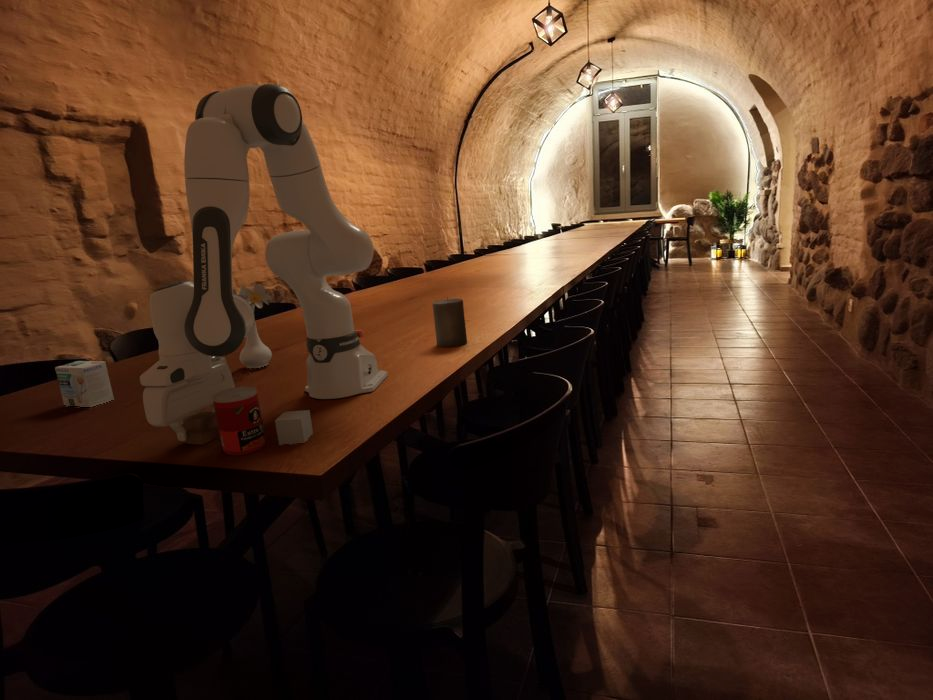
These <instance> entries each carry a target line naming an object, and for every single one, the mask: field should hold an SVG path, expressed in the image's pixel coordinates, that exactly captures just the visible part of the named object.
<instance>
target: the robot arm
mask: <svg viewBox="0 0 933 700" xmlns="http://www.w3.org/2000/svg"><path fill="white" fill-rule="evenodd" d="M194 117H195V119H194V121H192V122H191V123H190V124H189V126H188V128H187V131H186V137H185V145H184V168H183V169H184V184H185V194H186V201H187V208H188V214H189V219H190V220H189V221H190V229H191V236H192V267H193V268H192V269H193V270H192V271H193V281H190V280H181V281H176V282H172V283H169V284H167V285H162V286H159V287H157V288H156V289H154V290H153V291H152V292H151V294H150V296H149V311H150V312H149V313H150V318H151V319H150V320H151V323H152V324H151V325H152V329H153V333H154V335H155V338H156V339H157V341H158V358H159V360H157V361H156V362H155V363H154V364H153V365H152V366H150V368H148V369H147V370H146V371H144V372H143V373H141V375H140V376H139V382H140V385H141V386H143V387H145V388H144V390H143V392H142V402H143V407H144V412H145V413H144V414H145V417H146V420H147V423H149V425H151V426H152V427H161V428H163V427H165V428H166V427H168V426H169V427H170V428H171V429H172V430H173V431H174V432H175V433H176V436H177V440H178V441H180V442H182V441H185V440H187V439H189V438H190V437H191V436H190V432H189V430H185V429H184V428H183V427H182V425H181V424H183V418H185V417H187V416H189V415H191V414H194V413H196V412H201V411H202V410H204V409H206V408H208V407H210V408H211V411H210V412H215V408H214V403H213V395H215V394H216V393H218V392H221V391H223V390H227V389H231V388H236V386H235V382H234V378H233V375H232V372H231V370H230V367H229V366H228V362H227V359H226V358H225V357H224V356H228V355H231V354H232V353H234V352H235V351H236V350H238V349H239V348H240V346H241V345H242V344H243V341H244V339H245V338H246V335H247V334H248V333H249V331H250V330H251V328H252V326H253V324H254V318H255V310H254V311H253V309H252V307H251V305H250V304H249V303H248V301H246V300H245V299H244V298H242V297H240V296H238V295H234V294H233V289H234V287H233V248H234V243H235V240H236V237H237V236H238V233H240V232H239V231H240V230H241V228H242V227H243V225H244V224H245V223H246V220H247V219H248V213H249V208H250V195H251V191H250V173H249V166H248V165H249V163H248V158H247V157H248V153H249V151H250V149H253V148H254V149H256V148H259V149H260V150H261V152H262V153H263V155H264V156H263V157H264V160H265V165H266V169H267V172H268V175H269V178H270V181H271V186H272V189H273V191H274V194H275V197H276V201H277V203H278V204H277V205H278V206H279V208H280V210H281V211H282V212H283V213H284V214H285V215H287V216H289V217H291V218H294V219H295V220H297V221H299V222H301V223H302V224H303V226H305V227H306V228H307V229H303V230H293V231H292V230H291V231H287V232H284V233H280V234H278V235H275V236H273V237H270V239H269V240H268V242H267V244H266V245H265V250H264V256H265V259H264V260H265V262H266V265H267V267H268V269H269V270H270V271H271V272H272V273H273V275H274V276H276V277H278V278H280V279H281V280H282V281H284V282H285V284H286V285H288V287H290V289H291V290H292V292H293V293H294V294H295V296H296V298H297V300H298V302H299V304H300V307H301V310H302V314H303V318H304V324H305V330H306V335H307V336H306V338H305V341H306V344H305V345H306V349H307V353H309V355H308V356H307V358H306V374H307V376H306V379H307V385H306V386H305V387H304V391H305V392H307V393H308V394H309V397H311V398H312V399H313V398H314V399H318V400H334V399H342V398H348V397H352V396H355V395H358V394H359V395H360V394H364V393H365V394H366V393H370V392H374V391H376V389H377V388H378V386H379V385H380V384H381V383H383V381H384V380H385V379H386V378H387V377H388V375H389V374H388V371H386V370H383V369H378V361H377V359H376V358H377V357H376V356H375V354H373V353H372V352H370V351H369V350H367V348H365V347H364V346H362V345H361V342H360V338H361V339H362V338H364V330H363V329H355V327H354V326H355V325H354V319H353V311H352V305H351V301H350V300H349V299H348V297H346V296H345V295H344V294H343V293H341V292H340V291H336V290H334V289H333V288H332V287H331V286H330V285H329V284H328V281H327V280H326V278H325V277H333V276H334V277H336V276H348V275H352V274H355V273H359V272H362V271H366V270H367V269H368V268H369V267H370V265H371V264H372V261H373V258H374V253H375V248H374V244H373V241H372V239H371V237H370V235H369V234H368V233H367V231H365V230H364V229H363V228H360V227H359V226H357V225H355V224H354V223H352V222H351V221H350V220H349V219H347V218H346V216H344V214H343V213H342V212H341V211H340V209H339V208H338V207H337V206H336V204H335V202H334V200H333V199H332V197H331V195H330V192H329V189H328V185H327V183H326V182H327V181H326V180H325V176H324V173H323V168H322V166H321V162H320V159H319V155H318V152H317V149H316V146H315V144H314V142H313V138H312V137H311V134H310V132H309V130H308V127H307V125H306V124H305V122H304V121H303V113H302V109H301V106H300V104H299V101H298V100H297V99H296V97H295V96H294V94H293V93H292V92H291V91H290V90H289V89H288V88H287V87H284V86H281V85H278V84H273V83H265V84H262V85H261V84H260V85H259V84H249V85H246V84H245V85H239V86H237V87H236V86H235V87H232V88H228V89H225V90H215V91H212V92H210V93H208V94H206V95H204V96H203V97H201V99H200V100H199V101H198V103H197V106H196V110H195V115H194Z"/></svg>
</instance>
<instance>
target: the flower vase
mask: <svg viewBox="0 0 933 700" xmlns="http://www.w3.org/2000/svg"><path fill="white" fill-rule="evenodd" d="M233 294H234V295H238V296H240V297H242V298H244V299H245V300H246V301H248V303H249V304H250V305H251V307H252V309H253V311H254V312H255V307H257V308H258V309H262V308H263V307H264V304H263V303H265V304H266V305H270V304H269V301H273V297H271V295H270V294H269V293H266V287H265V286H264V285H261V284H260V283H258V284H257V283H253V289H252V290H251V289H250V288H248V287H247V286H246V285H241V287H240V290H239V292H237V290H236V288H233ZM245 338H246V339H245V344H244V346H243V348H242V350H241V351H240V354H239V361H240V362H241V363H242V364H243V365H245V366H246V369H248V368H250V369H249V370H252V369H251V368H259V369H262V368H261V367H263V368H265V367H264V366H266V367H267V365H268V366H269V362H270V360H271V359H272V356H273V353H272V351H271V349H270V348H269V347H268V346H267V345H266V344H264V343H263V342H262V339H261V338H260V336H259V333H258V328H257V323H256V319H255V317H254V324H253V326H252V328H251V330H250V331H249V333H248V334H247V335H246V337H245Z"/></svg>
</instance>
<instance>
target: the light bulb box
mask: <svg viewBox="0 0 933 700" xmlns="http://www.w3.org/2000/svg"><path fill="white" fill-rule="evenodd" d="M54 370H55V373H56V374H55V375H56V378H57V381H58V385H59V388H60V389H59V390H60V393H61V398H62V403H63V405H66V406H65V407H68V406H80V407H93V406H96V405H99V404H102V405H104V404H103V403H105V404H107V403H106V402H108V403H110V402H109V401H111V400H114V401H115V398H114V393H113V389H112V386H111V385H112V384H111V382H110V381H111V379H110V377H109V372H108V368H107V363H106V361H103V360H101V361H100V360H99V361H97V360H96V361H94V360H89V361H88V360H76V361H73V362H69V363H66V364H62V365H59V366H55V367H54ZM111 402H112V401H111ZM99 406H100V405H99ZM80 407H79V408H80ZM96 407H97V406H96Z"/></svg>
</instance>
